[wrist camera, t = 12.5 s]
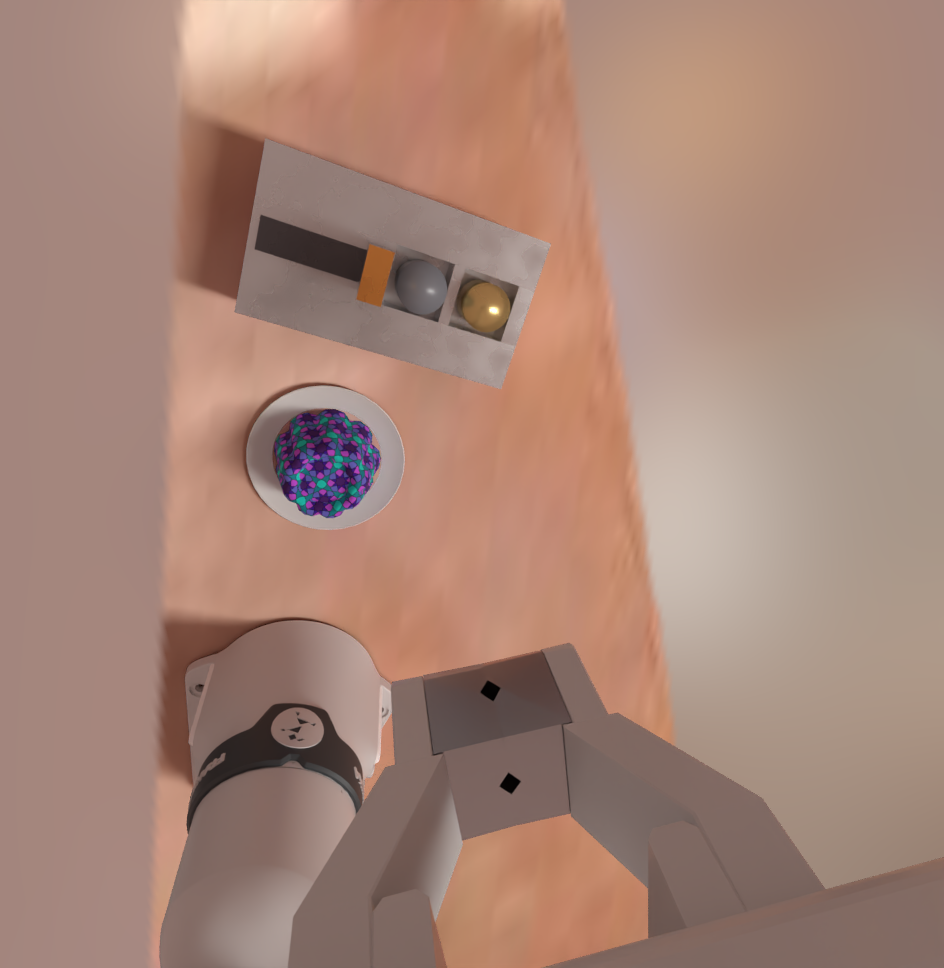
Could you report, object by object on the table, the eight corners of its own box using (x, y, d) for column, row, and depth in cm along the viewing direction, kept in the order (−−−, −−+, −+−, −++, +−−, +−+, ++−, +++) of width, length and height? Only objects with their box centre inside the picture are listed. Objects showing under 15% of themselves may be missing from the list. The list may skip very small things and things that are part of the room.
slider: (378, 297, 38) (380, 307, 33) (357, 290, 37) (356, 299, 33) (391, 249, 37) (395, 252, 32) (369, 242, 36) (369, 244, 32)
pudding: (341, 551, 50) (338, 585, 45) (215, 468, 45) (198, 496, 41) (434, 448, 48) (442, 472, 43) (312, 349, 43) (306, 365, 38)
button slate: (432, 313, 40) (438, 320, 36) (389, 299, 39) (391, 305, 36) (446, 268, 39) (453, 271, 35) (401, 252, 38) (405, 255, 35)
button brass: (491, 329, 42) (501, 337, 39) (451, 316, 41) (458, 324, 38) (504, 287, 41) (516, 292, 38) (464, 273, 40) (472, 277, 37)
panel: (488, 374, 46) (501, 389, 42) (247, 303, 41) (234, 312, 37) (532, 242, 42) (551, 243, 38) (276, 147, 38) (265, 137, 33)
